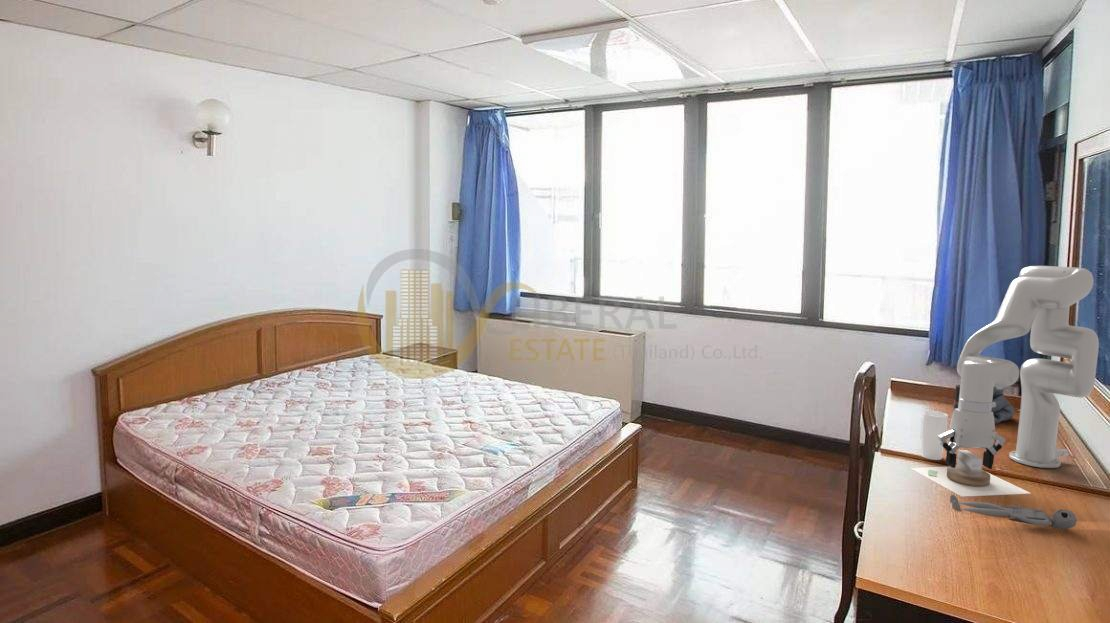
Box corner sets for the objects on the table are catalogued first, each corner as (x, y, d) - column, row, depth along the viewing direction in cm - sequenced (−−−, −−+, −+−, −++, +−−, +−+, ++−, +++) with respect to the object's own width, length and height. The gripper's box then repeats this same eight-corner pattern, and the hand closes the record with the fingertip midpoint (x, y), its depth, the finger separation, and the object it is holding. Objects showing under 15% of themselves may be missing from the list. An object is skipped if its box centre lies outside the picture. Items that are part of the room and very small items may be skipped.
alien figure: (949, 489, 163) (1072, 505, 153) (948, 507, 164) (1070, 524, 153) (953, 501, 156) (1082, 518, 145) (952, 520, 157) (1080, 538, 146)
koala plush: (949, 410, 251) (953, 361, 249) (999, 412, 249) (1004, 363, 246) (971, 423, 234) (976, 371, 232) (1025, 426, 232) (1030, 373, 229)
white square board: (972, 470, 187) (972, 464, 187) (1030, 498, 167) (1031, 492, 167) (909, 473, 185) (909, 467, 184) (961, 502, 165) (962, 495, 165)
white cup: (947, 466, 190) (952, 417, 188) (922, 464, 192) (927, 415, 190) (939, 458, 197) (943, 411, 195) (915, 456, 198) (919, 409, 196)
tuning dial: (998, 486, 171) (1000, 461, 170) (959, 485, 171) (962, 460, 170) (967, 467, 185) (969, 444, 184) (931, 466, 185) (933, 443, 184)
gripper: (998, 403, 177) (992, 462, 179) (934, 401, 177) (929, 460, 180) (1017, 410, 169) (1010, 472, 171) (949, 409, 170) (944, 470, 172)
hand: (968, 466), depth 175 cm, fingers open, 9 cm apart
